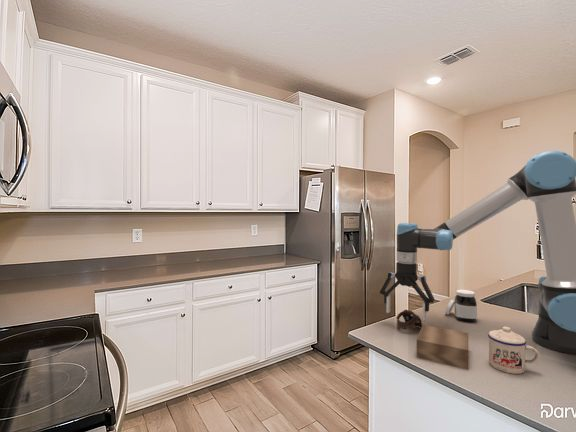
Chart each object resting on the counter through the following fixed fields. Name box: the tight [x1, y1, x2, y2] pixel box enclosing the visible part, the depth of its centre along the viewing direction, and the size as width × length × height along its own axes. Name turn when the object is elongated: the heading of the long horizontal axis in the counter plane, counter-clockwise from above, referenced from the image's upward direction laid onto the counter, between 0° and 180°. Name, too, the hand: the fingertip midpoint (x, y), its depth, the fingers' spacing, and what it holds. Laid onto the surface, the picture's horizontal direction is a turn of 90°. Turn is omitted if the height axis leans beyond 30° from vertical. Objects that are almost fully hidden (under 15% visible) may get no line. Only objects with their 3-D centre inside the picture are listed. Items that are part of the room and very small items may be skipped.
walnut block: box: [416, 324, 469, 370], centre depth 96 cm, size 14×14×6 cm
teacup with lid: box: [487, 326, 540, 375], centre depth 87 cm, size 12×9×12 cm
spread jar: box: [444, 289, 478, 323], centre depth 128 cm, size 12×11×12 cm
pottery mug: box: [396, 309, 424, 330], centre depth 117 cm, size 12×10×8 cm
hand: (405, 315), depth 117 cm, fingers open, 13 cm apart
